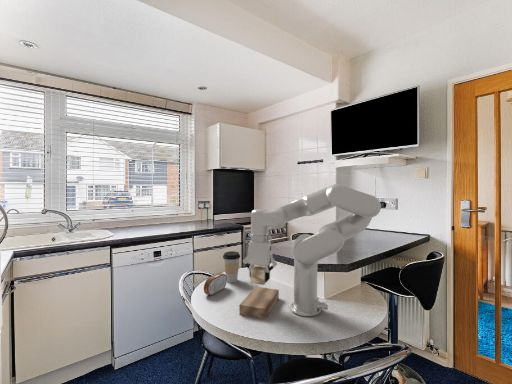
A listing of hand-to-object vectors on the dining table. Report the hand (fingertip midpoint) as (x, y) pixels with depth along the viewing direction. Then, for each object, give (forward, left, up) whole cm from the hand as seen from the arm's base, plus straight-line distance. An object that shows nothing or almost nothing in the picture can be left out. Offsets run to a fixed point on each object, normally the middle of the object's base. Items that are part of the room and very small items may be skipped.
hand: (259, 279), depth 122 cm
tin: (+25, -7, -12) cm, 28 cm away
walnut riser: (0, 0, -12) cm, 12 cm away
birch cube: (0, 0, -1) cm, 1 cm away
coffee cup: (+24, -23, -12) cm, 35 cm away
